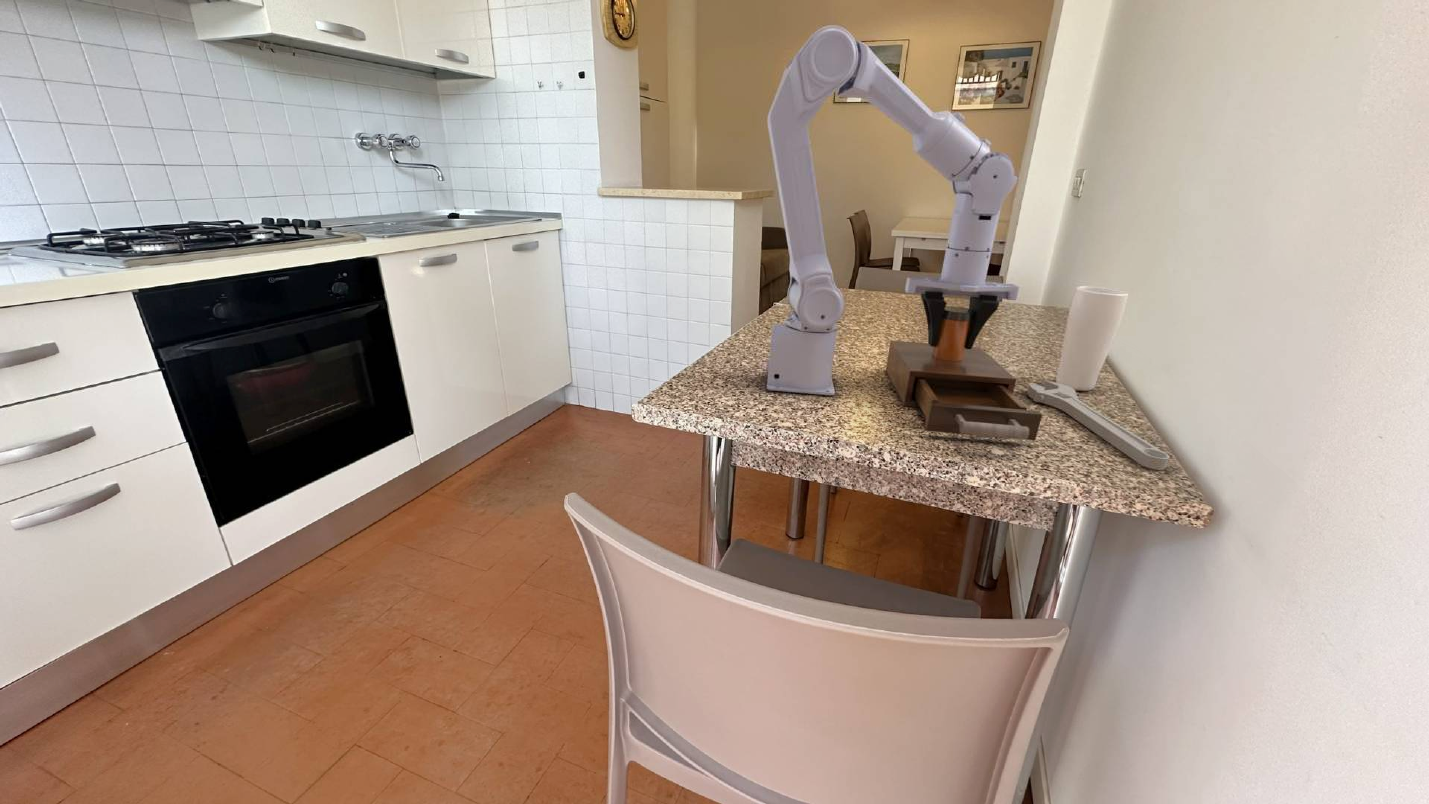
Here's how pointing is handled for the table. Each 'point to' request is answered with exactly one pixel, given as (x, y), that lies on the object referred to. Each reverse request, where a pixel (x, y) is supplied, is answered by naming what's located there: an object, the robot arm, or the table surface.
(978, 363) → the cabinet
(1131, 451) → the adjustable wrench
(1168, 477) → the table surface
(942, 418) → the drawer
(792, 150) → the robot arm
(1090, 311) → the drinking glass
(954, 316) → the spice jar
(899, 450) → the table surface
